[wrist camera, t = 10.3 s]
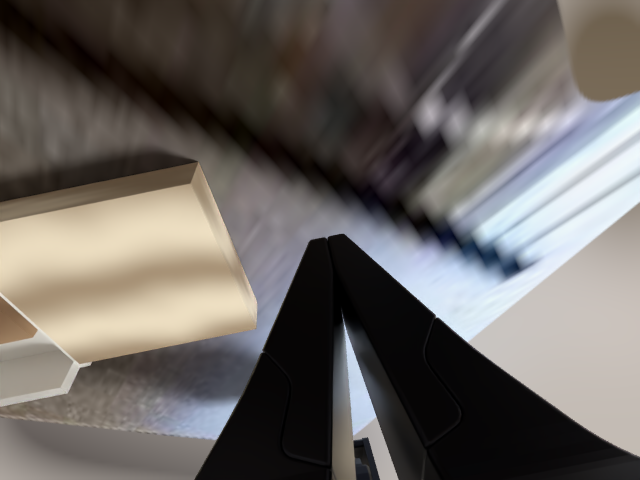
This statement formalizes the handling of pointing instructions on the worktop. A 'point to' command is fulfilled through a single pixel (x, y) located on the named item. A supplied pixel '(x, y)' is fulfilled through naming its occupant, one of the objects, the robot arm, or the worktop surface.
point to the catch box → (34, 368)
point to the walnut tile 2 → (13, 324)
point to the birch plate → (125, 264)
